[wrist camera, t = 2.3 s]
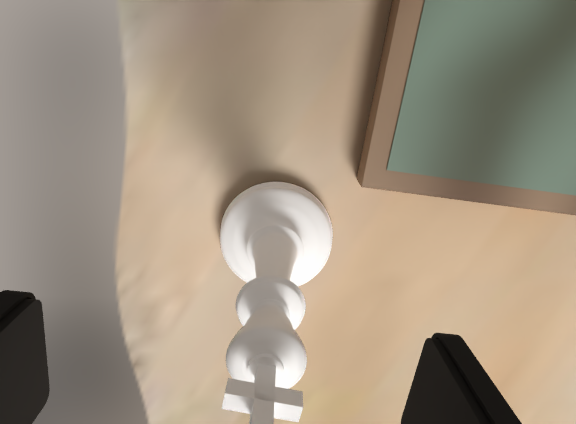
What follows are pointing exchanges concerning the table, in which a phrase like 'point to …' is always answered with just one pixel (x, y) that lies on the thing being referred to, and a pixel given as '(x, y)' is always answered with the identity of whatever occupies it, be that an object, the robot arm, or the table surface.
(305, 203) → the chess piece
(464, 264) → the table surface
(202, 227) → the table surface
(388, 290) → the table surface
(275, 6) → the table surface
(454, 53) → the green-topped square tray
